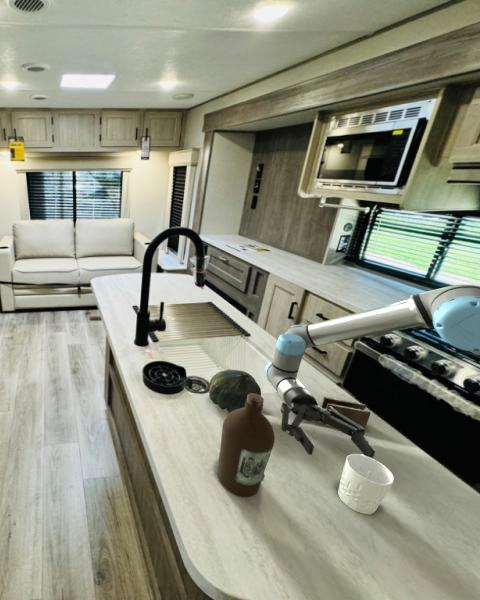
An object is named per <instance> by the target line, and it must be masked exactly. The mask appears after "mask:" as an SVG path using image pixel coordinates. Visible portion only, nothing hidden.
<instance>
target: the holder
mask: <svg viewBox="0 0 480 600" xmlns="http://www.w3.org/2000/svg"><path fill="white" fill-rule="evenodd" d="M328 406H331V407H333V408H334V409H335V410H336V411H337V412H339V413H340V414H342V415H344V416H345V417H347V418H348V419H350V420H352V421H353V422H355V423H357V424H358V425H360V426H361V427H363V428H365V429H366V427H367V425H368V423H369V420H370V416H371V413H372V412H371V411H370V410H366V408H367V405H366V403H360V402H355V401H350V400H344V399H338V398H334V397H328V396H324V397H323V400H322V403H321V406H320V407H322V408H328ZM324 417H325V415H323V416H322V419H323V420H324Z"/></svg>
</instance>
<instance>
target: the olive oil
mask: <svg viewBox="0 0 480 600" xmlns="http://www.w3.org/2000/svg"><path fill="white" fill-rule="evenodd" d="M264 400H265V399H264V397H263V396H262V395H261V396H260V395H258V394H254V393H250V394H248V396H247V399H246V403H245V407H244V408H240V409H236V410H234V411H232V412H228V414H227V415H226V417H225V418H224V420H223V423H222V429H221V439H220V448H219V456H218V462H217V463H218V464H217V470H216V475H217V479H218V481H219V483H220V484H221V485H222V486H223V488H225V489H226V490H227V491H229V492H230V493H232V494H233V495H236V496H239V497H243V498H249V497H253V496H255V495H256V494H257V493H258V492H259V490H260V486H261V484H262V482H263V481H264V479H265V476H266V475H265V471H266V468H267V466H268V463H269V460H270V457H271V454H272V451H273V449H274V445H275V441H276V437H275V430H274V427H273V425H272V424H271V422H270V421H269V419H268V418H267V417H266V416H265V415H264V414H263V409H264V408H263V407H264V402H265V401H264Z"/></svg>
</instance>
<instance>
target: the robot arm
mask: <svg viewBox="0 0 480 600" xmlns="http://www.w3.org/2000/svg"><path fill="white" fill-rule="evenodd" d="M418 327H422V328H426V329H431V328H433V329H434V330H435V331H436V333H437V334H438V335H439V337H440V338H441V339H442V340H444V342H446V343H447V344H449V345H451V346H452V347H455V348H456V349H460V350H463V351H466V352H470V353H472V354H474V355H476V356H477V357H478V358H480V285H475V284H453V285H449V286H445V287H441V288H440V287H439V288H435V289H433V290H429V291H425V292H421V293H417V294H413V295H410V296H409V298H408V299H407V300H403V301H400V302H396V303H391V304H388V305H384V306H380V307H376V308H371V309H368V310H364V311H360V312H354V313H351V314H347V315H343V316H339V317H335V318H331V319H328V320H327V319H326V320H323V321H318V322H314V323H310V324H306V325H303V324H293V325H292V326H290V327H289V328H287V329H286V330H285V333H281V334H280V335H278V338H277V342H275V349H274V354H273V358H272V361H270V362H268V363H267V365H266V366H265V367H264V370H263V371H264V375H265V377H266V379H267V380H268V382H269V383H270V384H271V385H272V387H273V388H274V390H275V391H276V392H277V394H278V395H279V397H280V398H281V400H282V401H283V402H282V403H281V406H280V411H279V412H281V414H282V415H281V425H280V426H281V427H280V430H281V431H282V432H288V435H289V437H290V436H291V437H293V438H294V439H295V441H296V442H298V443H300V444H301V446H302V447H303V449H304V451H306V453H307V455H310V456H312V455H313V452H314V450H315V446H314V444H313V442H312V441H311V440H310V438H309V437H308V435H307V434H306V433H305V431H304V430H303V428H302V427H301V426H300V425H301V423H302V422H303V420H305V421H307V422H318V423H320V424H322V425H327V426H329V427H331V428H334V429H335V430H337V431H339V432H341V433H342V434H345V435H346V436H349V437H350V441H351V442H352V443H353V444H354V445H355V446H356V447H357V448H358V449H359V451H360V452H361V453H362V455H365V456H368V457H370V458H372V459H374V456H375V454H376V450H375V449H374V448H373V447H372V446H371V445H370V443H369V441H368V439H367V438H366V437H365V433H366V431H367V429H366V427H365V428H363V427H361V426H360V425H358V424H357V423H355V422H353V421H352V420H350V419H348V418H347V417H345V416H344V415H342V414H340V413H339V412H337V411H336V410H335V409H334V408H333V407H331V406H328V408H322V407H321V406H320V404H318V401H317V399H316V398H315V396H314V395H312V393H311V392H310V391H309V390H308V389H307V388H306V387H305V385H304V384H303V383H302V382H301V380H299V378H298V373H299V370H300V366H301V364H302V363H301V362H302V360H303V356H304V354H305V352H306V350H307V349H308V348H315V347H318V346H323V345H329V344H332V343H334V344H335V343H339V342H345V341H349V340H355V339H360V338H365V337H371V336H375V335H380V334H387V333H390V332H391V333H392V332H396V331H401V330H407V329H412V328H418ZM290 413H292V414H294V415H295V417H294V419H293V421H292V422H291V423H290V424H289V419H290V418H289V416H290ZM324 415H325V417H324V420H323V416H324Z"/></svg>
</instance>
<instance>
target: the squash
mask: <svg viewBox="0 0 480 600" xmlns="http://www.w3.org/2000/svg"><path fill="white" fill-rule="evenodd" d="M250 393H254V394H258V395H260V396H261V397H262V390H261V387H260V385H259V383H258V382H257V381H256V379H255V377H253V375H251V374H250V373H248V372H246V371H244V370H240V369H239V370H238V369H225V370H221V371H219V372H217V373H215V374H214V375H212V377H211V378H210V380H209V390H208V395H209V399H210V400H211V402H212V403H213V404H214V405H217V406H218V408H219V409H220V410H223V411H224V410H226V411H227V412H228V413H230V412H232V411H234V410H236V409H240V408H244V407H245V403H246V399H247V396H248V394H250Z"/></svg>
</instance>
